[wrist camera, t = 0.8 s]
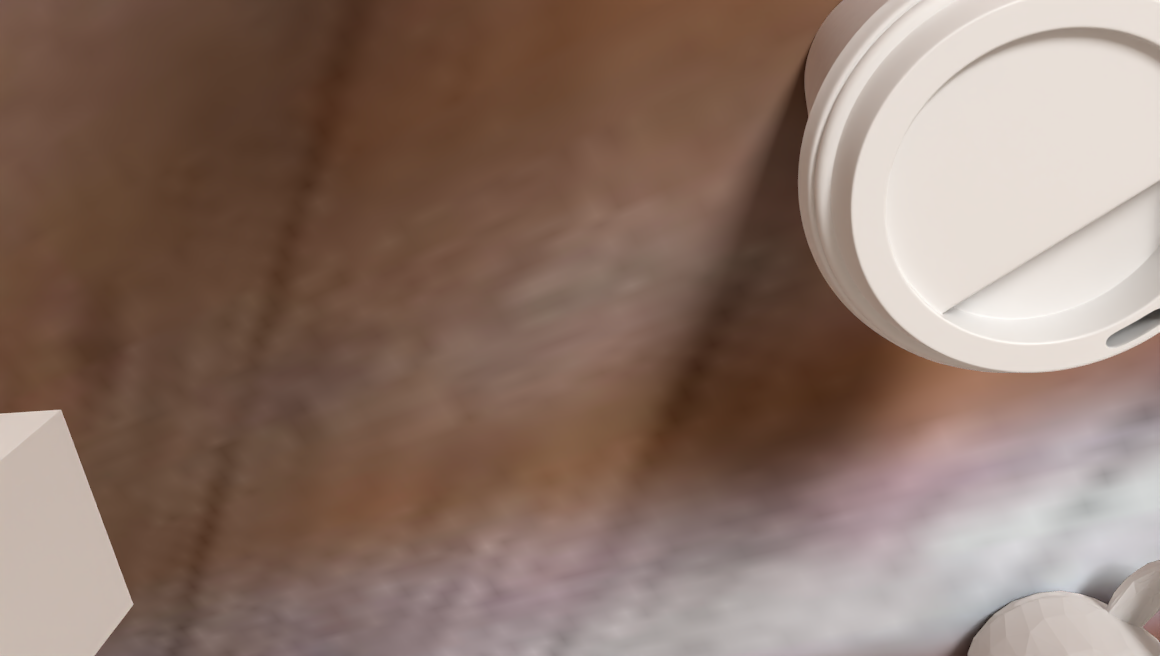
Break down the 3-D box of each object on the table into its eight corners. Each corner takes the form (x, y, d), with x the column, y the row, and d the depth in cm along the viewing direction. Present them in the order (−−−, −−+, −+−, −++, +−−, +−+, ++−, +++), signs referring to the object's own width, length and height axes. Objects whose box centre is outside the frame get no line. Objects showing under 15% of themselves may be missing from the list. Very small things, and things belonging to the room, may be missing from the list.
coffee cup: (789, 239, 36) (853, 446, 23) (730, -30, 33) (764, 22, 19) (1065, 173, 34) (1319, 355, 21) (1033, -119, 31) (1311, -131, 17)
